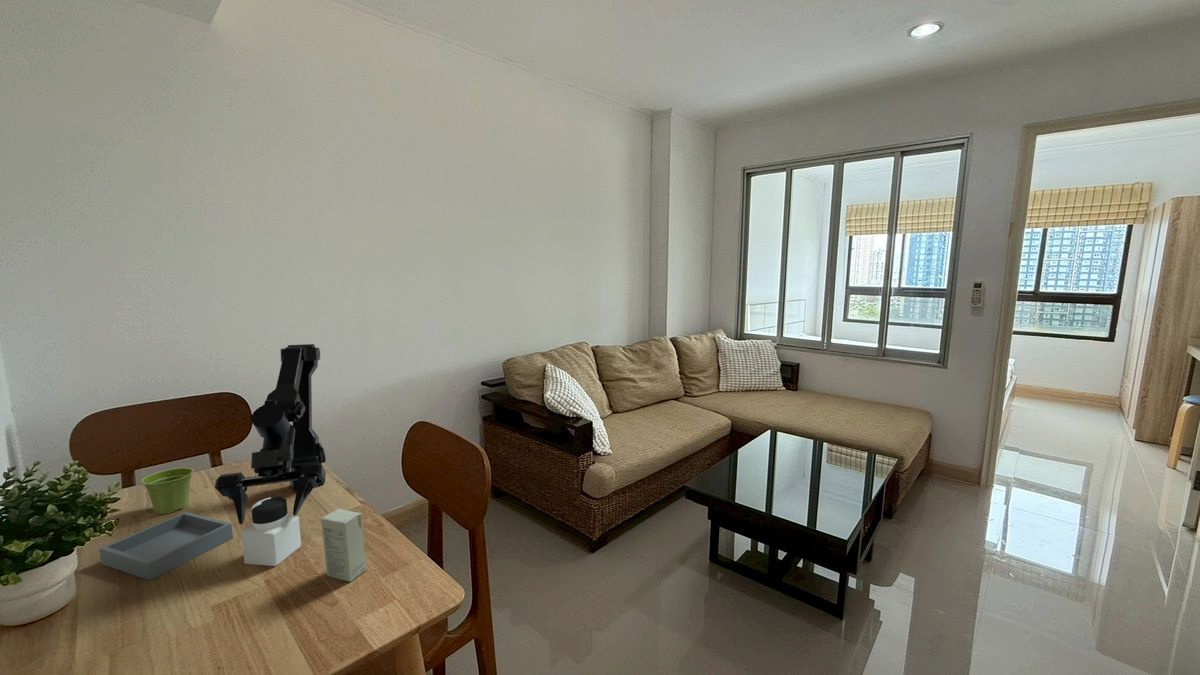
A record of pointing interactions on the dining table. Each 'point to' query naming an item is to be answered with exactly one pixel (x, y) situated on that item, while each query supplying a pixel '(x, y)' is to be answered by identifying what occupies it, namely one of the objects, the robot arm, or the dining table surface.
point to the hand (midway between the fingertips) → (268, 519)
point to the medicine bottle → (270, 533)
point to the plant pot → (169, 489)
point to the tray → (165, 545)
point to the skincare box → (344, 544)
